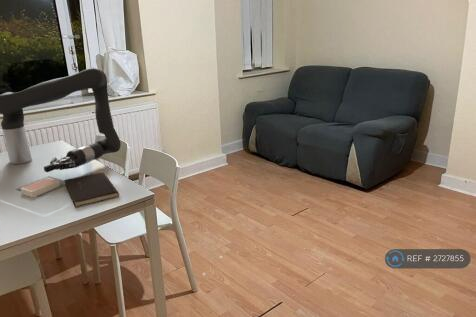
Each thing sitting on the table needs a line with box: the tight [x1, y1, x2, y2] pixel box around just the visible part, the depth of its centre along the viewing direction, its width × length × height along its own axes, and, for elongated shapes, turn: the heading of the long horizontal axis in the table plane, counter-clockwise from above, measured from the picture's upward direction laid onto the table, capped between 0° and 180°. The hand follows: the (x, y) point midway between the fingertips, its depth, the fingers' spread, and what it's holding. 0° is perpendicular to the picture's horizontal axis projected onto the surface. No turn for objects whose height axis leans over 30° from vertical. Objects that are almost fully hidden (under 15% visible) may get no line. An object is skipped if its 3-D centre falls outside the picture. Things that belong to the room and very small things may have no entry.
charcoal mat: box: [15, 176, 66, 198], centre depth 156 cm, size 15×15×1 cm
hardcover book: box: [64, 171, 120, 208], centre depth 150 cm, size 16×23×2 cm
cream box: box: [19, 176, 60, 198], centre depth 152 cm, size 7×3×12 cm
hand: (45, 169), depth 152 cm, fingers closed
